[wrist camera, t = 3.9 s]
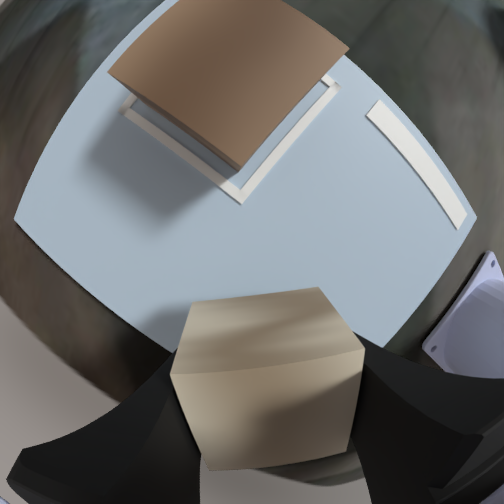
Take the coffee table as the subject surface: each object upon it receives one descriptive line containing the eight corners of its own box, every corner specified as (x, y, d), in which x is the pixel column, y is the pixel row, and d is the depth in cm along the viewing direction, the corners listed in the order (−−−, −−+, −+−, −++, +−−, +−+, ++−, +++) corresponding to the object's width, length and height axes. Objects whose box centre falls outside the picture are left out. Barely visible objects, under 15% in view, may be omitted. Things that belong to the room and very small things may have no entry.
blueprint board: (470, 216, 12) (478, 218, 12) (300, 414, 15) (302, 422, 14) (204, -22, 8) (203, -29, 8) (20, 217, 11) (12, 219, 10)
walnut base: (314, 86, 10) (349, 48, 6) (238, 172, 11) (241, 166, 7) (222, 24, 9) (220, -30, 5) (145, 104, 10) (106, 71, 6)
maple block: (318, 286, 10) (364, 348, 6) (317, 380, 11) (345, 451, 7) (192, 301, 9) (169, 374, 5) (214, 394, 10) (209, 470, 7)
